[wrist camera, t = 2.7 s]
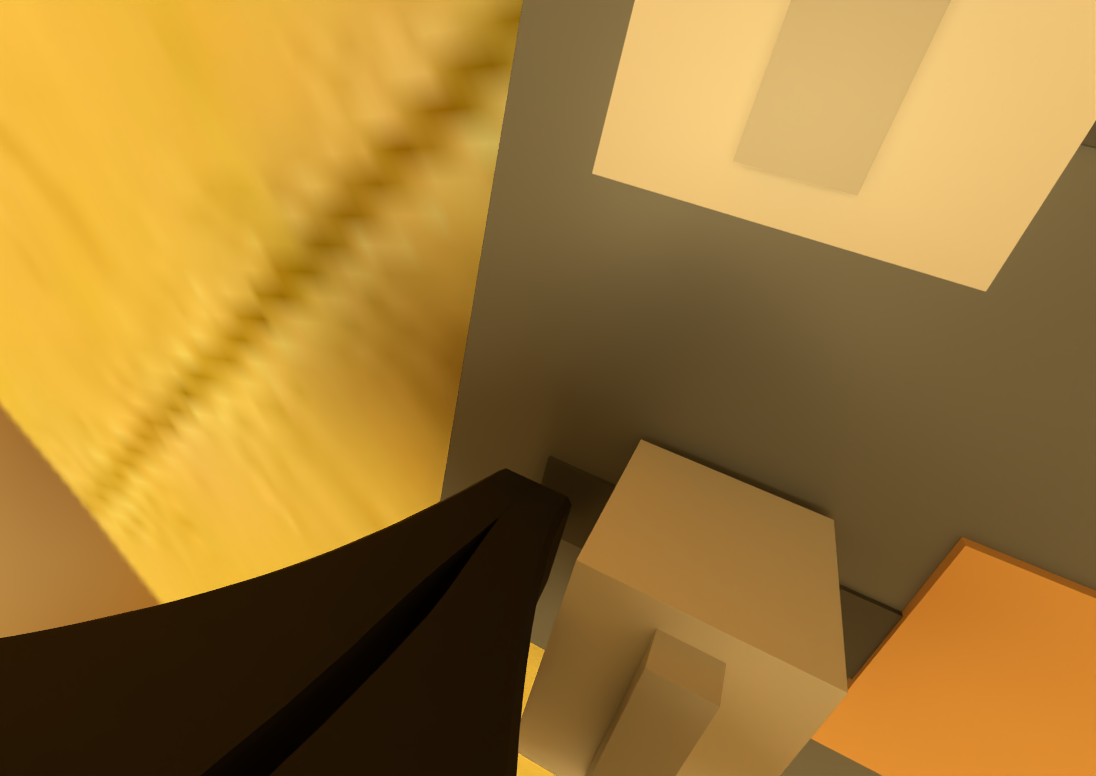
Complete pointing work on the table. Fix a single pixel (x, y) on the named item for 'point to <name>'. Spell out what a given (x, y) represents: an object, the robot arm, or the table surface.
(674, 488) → the switch
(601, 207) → the switch board
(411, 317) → the table surface
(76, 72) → the table surface
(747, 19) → the switch
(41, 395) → the table surface
